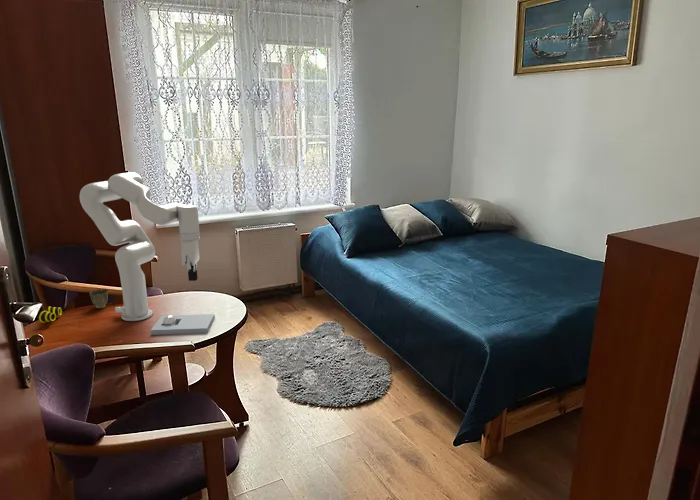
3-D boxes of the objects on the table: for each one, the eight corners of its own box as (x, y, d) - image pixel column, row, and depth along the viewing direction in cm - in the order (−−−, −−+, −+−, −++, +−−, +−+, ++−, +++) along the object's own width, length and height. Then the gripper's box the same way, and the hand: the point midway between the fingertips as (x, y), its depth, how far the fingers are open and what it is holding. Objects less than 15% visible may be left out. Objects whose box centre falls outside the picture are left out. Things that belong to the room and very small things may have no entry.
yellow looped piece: (53, 323, 205) (51, 312, 204) (39, 324, 205) (37, 313, 203) (63, 315, 215) (62, 304, 213) (51, 315, 214) (49, 304, 213)
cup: (92, 306, 224) (90, 289, 222) (110, 303, 227) (108, 287, 225) (91, 311, 218) (88, 294, 216) (109, 309, 221) (107, 292, 219)
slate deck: (151, 334, 194) (150, 330, 194) (162, 320, 209) (161, 315, 208) (207, 332, 196) (207, 328, 195) (214, 318, 210) (214, 314, 210)
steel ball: (164, 315, 198) (176, 320, 198) (167, 311, 202) (179, 316, 203) (159, 326, 198) (171, 331, 199) (162, 322, 203) (174, 327, 204)
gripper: (185, 232, 201) (188, 274, 206) (174, 240, 187) (178, 286, 191) (203, 232, 202) (206, 274, 206) (194, 240, 187) (198, 286, 192)
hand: (193, 280), depth 199 cm, fingers closed
